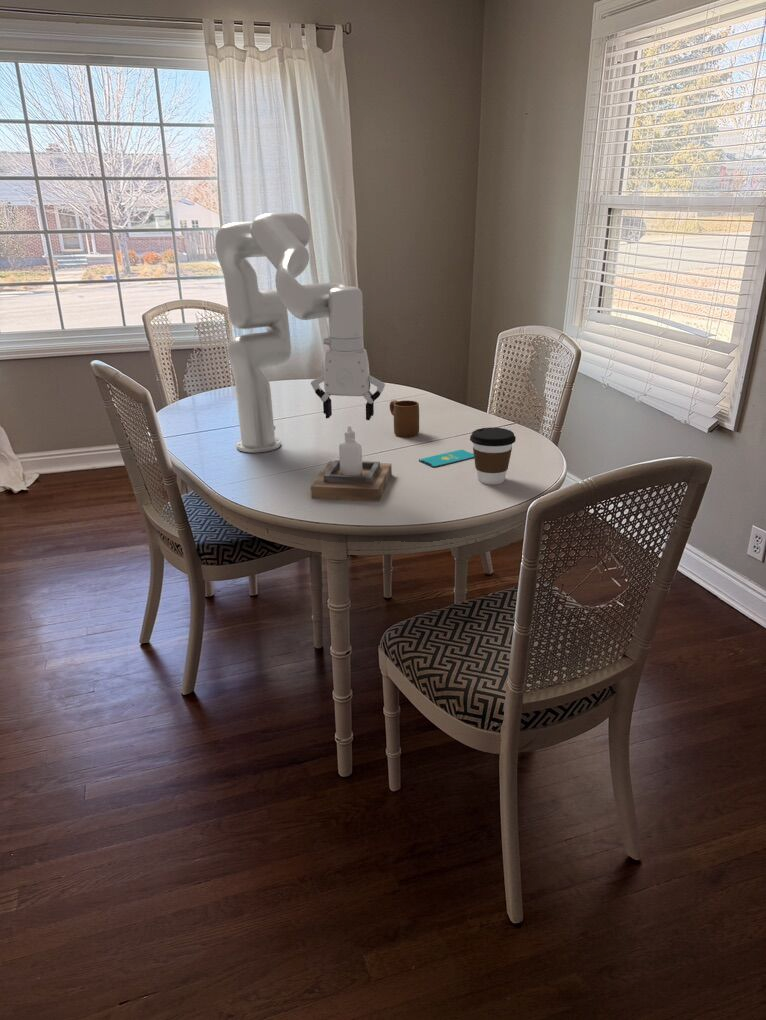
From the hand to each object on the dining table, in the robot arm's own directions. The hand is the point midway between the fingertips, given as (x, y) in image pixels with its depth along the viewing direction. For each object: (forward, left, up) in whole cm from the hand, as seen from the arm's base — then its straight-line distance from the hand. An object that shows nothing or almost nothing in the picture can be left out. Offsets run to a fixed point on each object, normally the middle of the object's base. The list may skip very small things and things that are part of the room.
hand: (348, 417), depth 166 cm
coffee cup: (-8, +33, -17) cm, 38 cm away
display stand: (0, 0, -17) cm, 17 cm away
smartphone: (-23, +21, -18) cm, 36 cm away
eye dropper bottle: (0, 0, -14) cm, 14 cm away
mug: (-46, +5, -17) cm, 49 cm away
